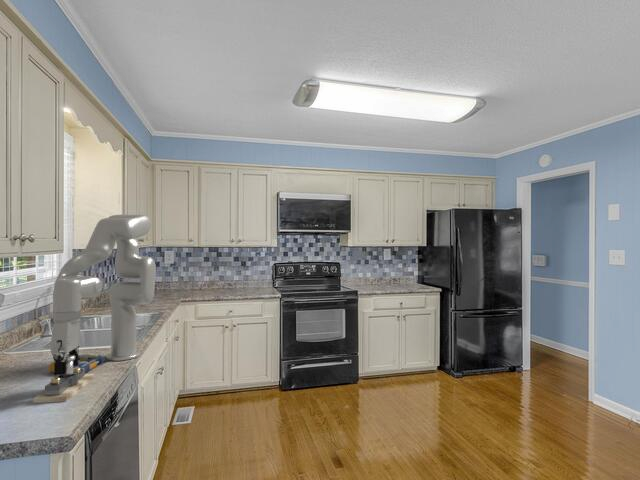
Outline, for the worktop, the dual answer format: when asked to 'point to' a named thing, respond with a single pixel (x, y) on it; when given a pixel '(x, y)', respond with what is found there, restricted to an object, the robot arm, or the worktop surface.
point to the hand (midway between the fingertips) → (66, 369)
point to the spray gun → (85, 362)
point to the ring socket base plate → (63, 387)
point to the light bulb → (69, 366)
